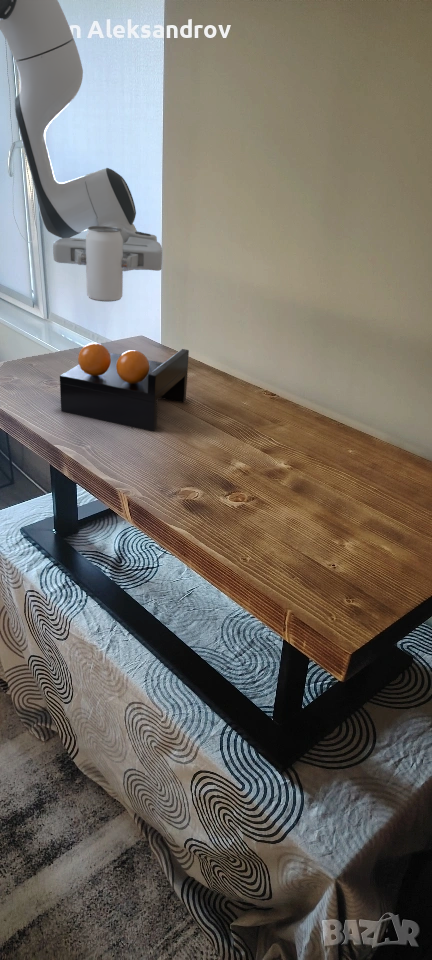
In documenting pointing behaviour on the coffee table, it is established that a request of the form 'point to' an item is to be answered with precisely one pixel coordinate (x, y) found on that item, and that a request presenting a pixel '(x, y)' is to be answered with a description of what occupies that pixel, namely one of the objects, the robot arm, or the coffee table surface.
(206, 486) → the coffee table surface
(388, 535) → the coffee table surface
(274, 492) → the coffee table surface
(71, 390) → the rack
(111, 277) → the can
